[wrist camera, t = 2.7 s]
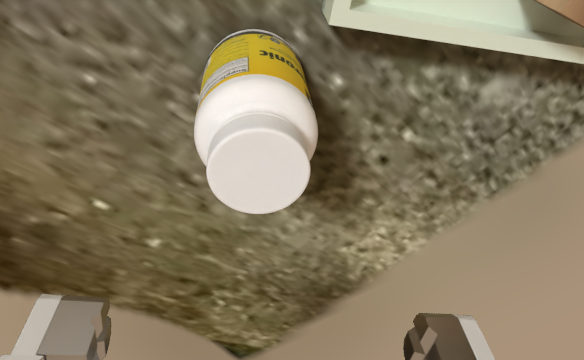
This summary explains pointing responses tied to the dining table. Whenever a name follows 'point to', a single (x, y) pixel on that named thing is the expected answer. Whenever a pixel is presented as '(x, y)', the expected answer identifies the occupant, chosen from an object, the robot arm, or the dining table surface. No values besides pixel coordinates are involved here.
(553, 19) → the tray
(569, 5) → the walnut block
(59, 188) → the dining table surface
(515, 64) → the dining table surface
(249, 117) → the supplement bottle
